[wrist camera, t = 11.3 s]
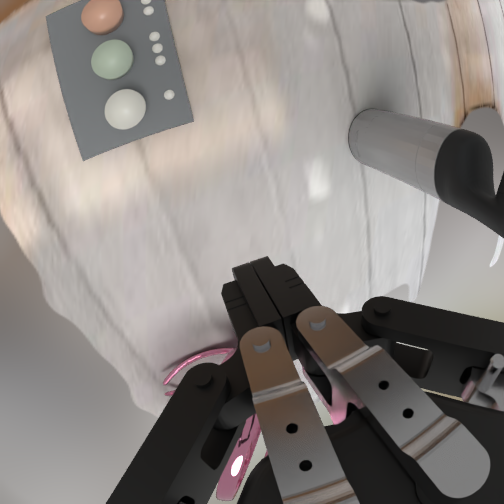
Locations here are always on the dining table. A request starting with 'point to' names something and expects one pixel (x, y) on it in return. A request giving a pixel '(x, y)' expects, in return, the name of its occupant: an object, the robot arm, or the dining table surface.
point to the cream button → (125, 109)
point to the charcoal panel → (138, 78)
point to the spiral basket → (244, 445)
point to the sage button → (112, 60)
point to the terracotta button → (102, 16)
